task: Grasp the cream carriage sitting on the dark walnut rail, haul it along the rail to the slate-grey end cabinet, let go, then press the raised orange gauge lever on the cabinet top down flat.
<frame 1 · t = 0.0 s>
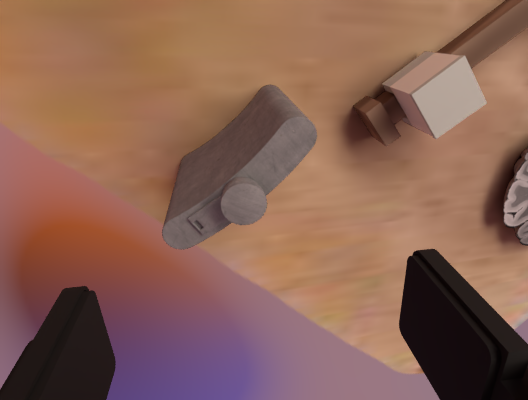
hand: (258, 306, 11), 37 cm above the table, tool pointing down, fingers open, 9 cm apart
hip flask: (232, 134, 47), on the table
rail: (474, 38, 45), on the table
carriage: (430, 92, 42), point 5 cm above the table, slide at 0.0 cm
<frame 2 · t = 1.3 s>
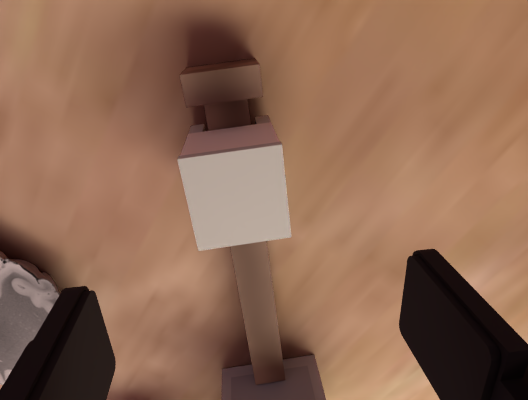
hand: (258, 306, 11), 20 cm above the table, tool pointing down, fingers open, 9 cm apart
cabinet: (272, 387, 42), on the table
rail: (250, 248, 34), on the table
carriage: (236, 176, 26), point 5 cm above the table, slide at 0.0 cm
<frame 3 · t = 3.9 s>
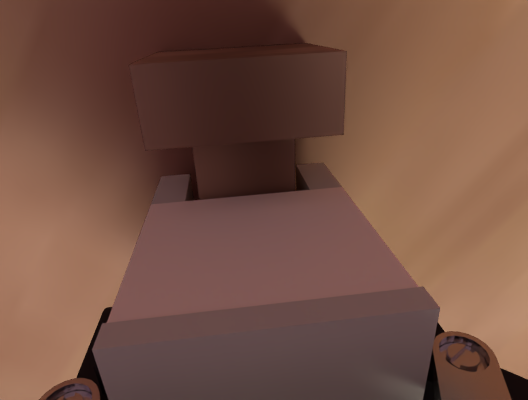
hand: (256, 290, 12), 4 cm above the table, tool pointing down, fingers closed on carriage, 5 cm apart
rail: (259, 380, 19), on the table
carriage: (259, 310, 11), point 5 cm above the table, slide at 0.0 cm, touching gripper
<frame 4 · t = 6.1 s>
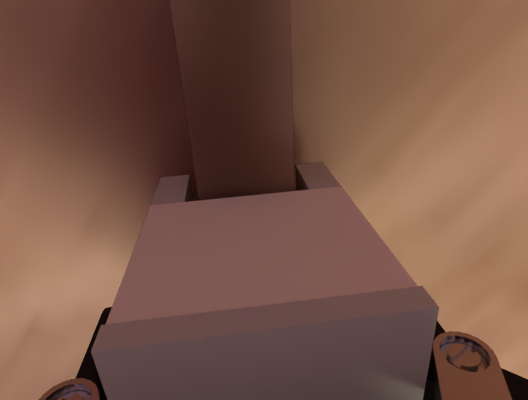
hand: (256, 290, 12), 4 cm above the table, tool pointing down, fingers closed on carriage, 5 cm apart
rail: (247, 227, 16), on the table
carriage: (259, 310, 11), point 5 cm above the table, slide at 9.1 cm, touching gripper
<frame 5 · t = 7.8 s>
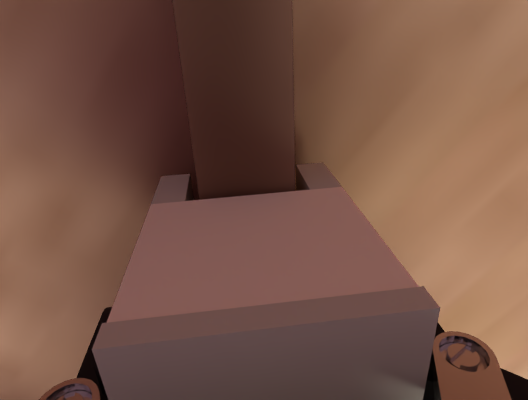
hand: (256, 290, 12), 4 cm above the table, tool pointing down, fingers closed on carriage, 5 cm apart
rail: (230, 15, 12), on the table
carriage: (259, 309, 11), point 5 cm above the table, slide at 17.0 cm, touching gripper
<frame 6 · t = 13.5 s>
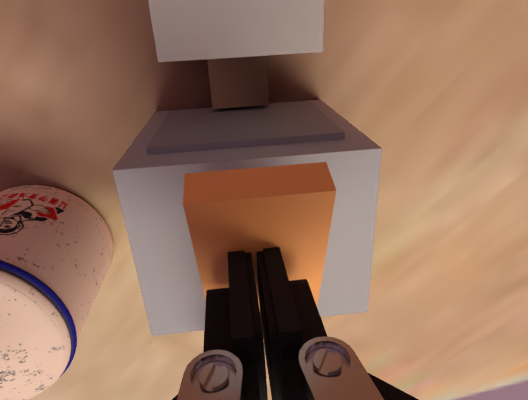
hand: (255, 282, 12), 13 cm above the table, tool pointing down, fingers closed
teacup with lid: (29, 245, 26), on the table
cabinet: (244, 167, 25), on the table
gauge lever: (261, 282, 14), point 12 cm above the table, hinge at 19.5°, touching gripper
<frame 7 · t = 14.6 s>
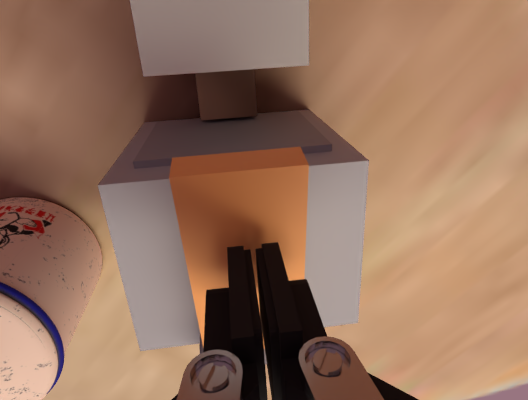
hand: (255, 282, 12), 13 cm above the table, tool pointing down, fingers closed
teacup with lid: (17, 258, 25), on the table
cabinet: (233, 177, 25), on the table
gauge lever: (247, 278, 14), point 12 cm above the table, hinge at 9.4°
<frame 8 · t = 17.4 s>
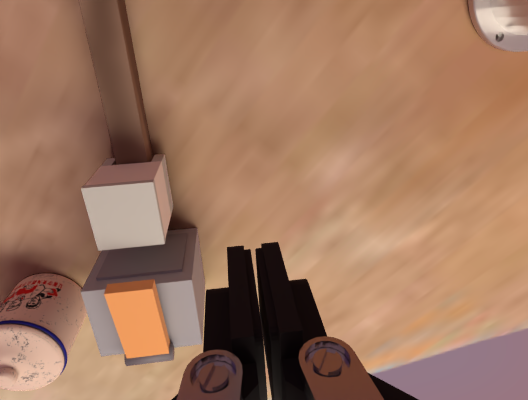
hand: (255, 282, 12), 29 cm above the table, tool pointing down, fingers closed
teacup with lid: (41, 303, 46), on the table
cabinet: (159, 260, 45), on the table
rail: (128, 105, 37), on the table
gauge lever: (141, 325, 35), point 11 cm above the table, hinge at 6.0°
carriage: (133, 198, 36), point 5 cm above the table, slide at 17.0 cm
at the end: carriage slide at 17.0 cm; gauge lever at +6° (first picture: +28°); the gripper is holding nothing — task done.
